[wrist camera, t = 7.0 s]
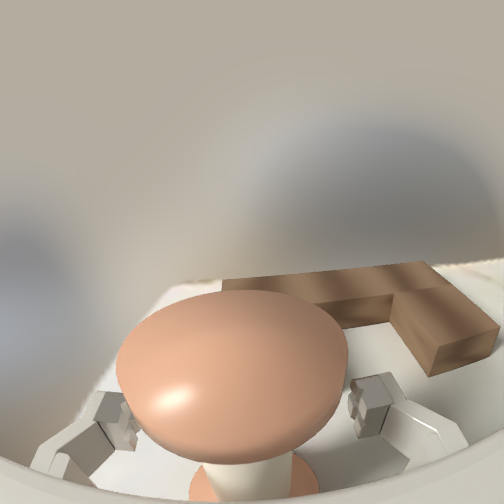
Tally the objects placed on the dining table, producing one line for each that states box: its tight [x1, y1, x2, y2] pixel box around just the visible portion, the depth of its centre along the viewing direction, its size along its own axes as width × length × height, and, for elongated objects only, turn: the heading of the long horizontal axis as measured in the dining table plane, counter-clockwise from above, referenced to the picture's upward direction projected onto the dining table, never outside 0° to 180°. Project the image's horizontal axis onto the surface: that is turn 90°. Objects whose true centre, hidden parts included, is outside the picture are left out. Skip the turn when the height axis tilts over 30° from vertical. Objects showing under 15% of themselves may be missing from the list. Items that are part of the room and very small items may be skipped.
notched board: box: [222, 261, 500, 377], centre depth 25 cm, size 22×14×3 cm, turn 93°
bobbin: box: [116, 290, 348, 502], centre depth 10 cm, size 6×6×11 cm
